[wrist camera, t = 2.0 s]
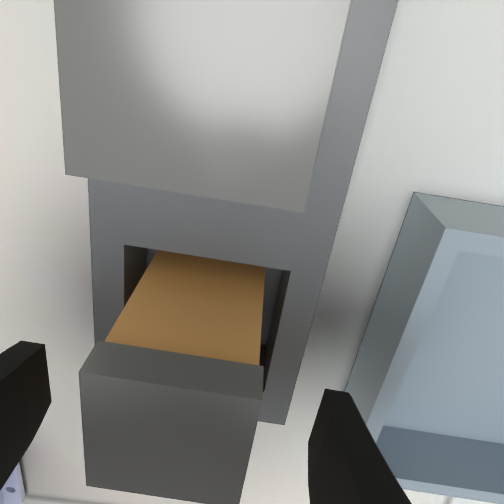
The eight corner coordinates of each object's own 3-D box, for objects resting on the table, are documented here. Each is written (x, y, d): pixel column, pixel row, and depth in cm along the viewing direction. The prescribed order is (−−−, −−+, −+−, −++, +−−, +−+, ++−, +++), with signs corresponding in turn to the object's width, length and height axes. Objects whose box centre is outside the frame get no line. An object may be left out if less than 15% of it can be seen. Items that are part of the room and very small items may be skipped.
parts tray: (528, 448, 19) (568, 514, 17) (335, 418, 19) (344, 480, 16) (677, 235, 14) (771, 280, 11) (414, 192, 14) (445, 227, 11)
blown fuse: (253, 331, 16) (238, 508, 10) (159, 316, 16) (86, 485, 10) (269, 247, 15) (262, 400, 8) (164, 231, 15) (78, 372, 8)
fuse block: (283, 367, 18) (284, 425, 15) (124, 342, 18) (96, 396, 15) (397, -100, 10) (437, -148, 8) (125, -147, 10) (72, -211, 8)
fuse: (292, 128, 13) (303, 212, 6) (170, 108, 13) (65, 174, 6) (319, -16, 11) (371, -90, 5) (178, -39, 11) (44, -145, 5)
